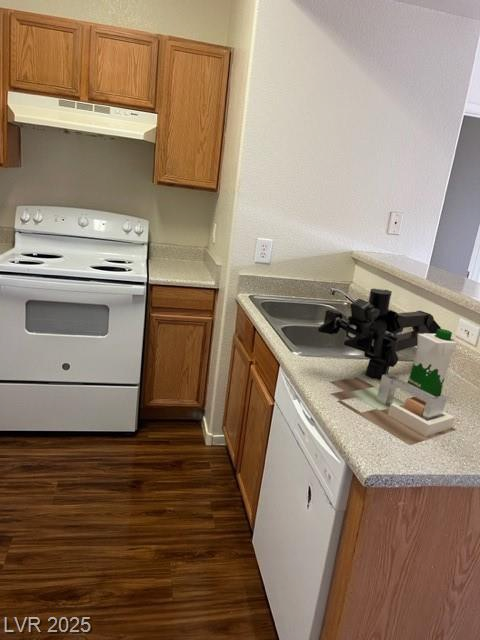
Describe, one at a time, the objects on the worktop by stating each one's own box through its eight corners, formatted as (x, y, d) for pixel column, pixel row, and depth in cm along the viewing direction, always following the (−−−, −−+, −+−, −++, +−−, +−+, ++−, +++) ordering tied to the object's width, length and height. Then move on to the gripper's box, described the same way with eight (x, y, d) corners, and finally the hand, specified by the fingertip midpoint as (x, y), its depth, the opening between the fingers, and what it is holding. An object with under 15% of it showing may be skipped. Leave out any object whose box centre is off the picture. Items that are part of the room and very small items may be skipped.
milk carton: (444, 401, 138) (463, 336, 133) (420, 403, 134) (438, 336, 129) (422, 388, 146) (439, 326, 140) (399, 389, 142) (415, 325, 137)
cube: (413, 413, 124) (418, 395, 122) (430, 422, 120) (435, 404, 118) (401, 416, 121) (406, 398, 119) (418, 426, 117) (423, 407, 115)
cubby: (413, 408, 127) (416, 397, 126) (451, 428, 118) (454, 417, 118) (387, 414, 120) (390, 404, 120) (425, 436, 112) (428, 425, 111)
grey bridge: (386, 398, 131) (393, 372, 129) (438, 426, 119) (446, 398, 116) (372, 401, 127) (378, 375, 125) (424, 430, 115) (432, 402, 113)
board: (355, 381, 143) (356, 377, 143) (454, 435, 118) (456, 429, 118) (309, 390, 132) (310, 385, 132) (408, 451, 107) (409, 445, 107)
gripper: (348, 289, 140) (311, 296, 130) (402, 311, 126) (365, 320, 117) (341, 324, 144) (304, 333, 135) (393, 349, 131) (356, 361, 121)
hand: (331, 336), depth 127 cm, fingers open, 9 cm apart
